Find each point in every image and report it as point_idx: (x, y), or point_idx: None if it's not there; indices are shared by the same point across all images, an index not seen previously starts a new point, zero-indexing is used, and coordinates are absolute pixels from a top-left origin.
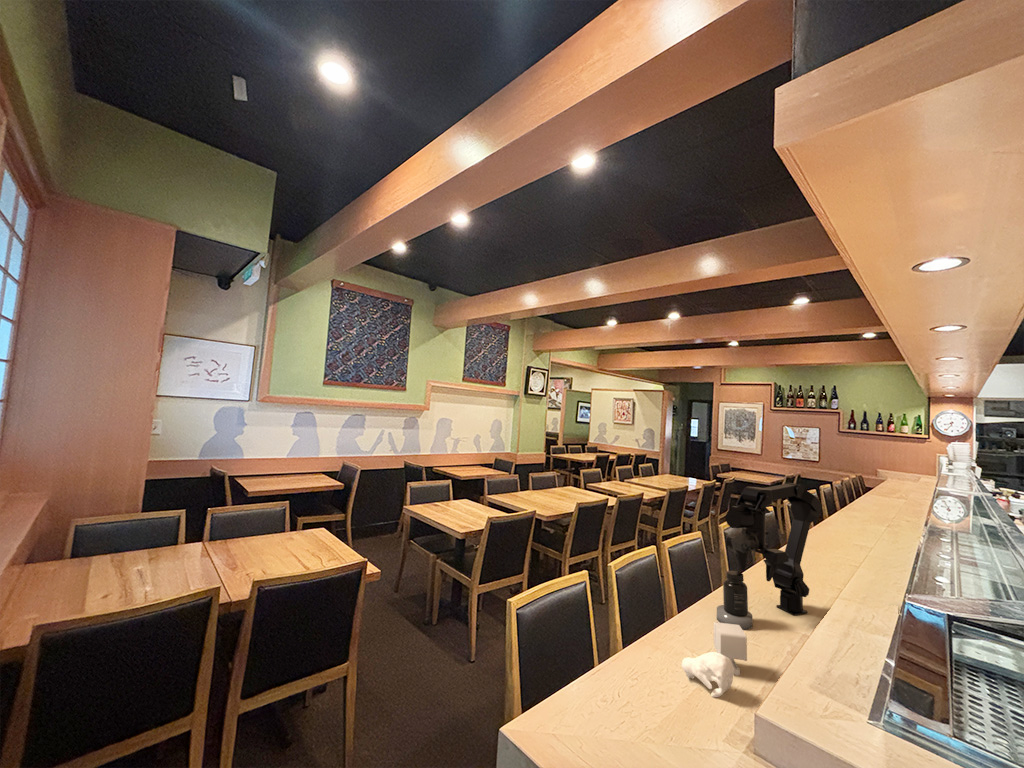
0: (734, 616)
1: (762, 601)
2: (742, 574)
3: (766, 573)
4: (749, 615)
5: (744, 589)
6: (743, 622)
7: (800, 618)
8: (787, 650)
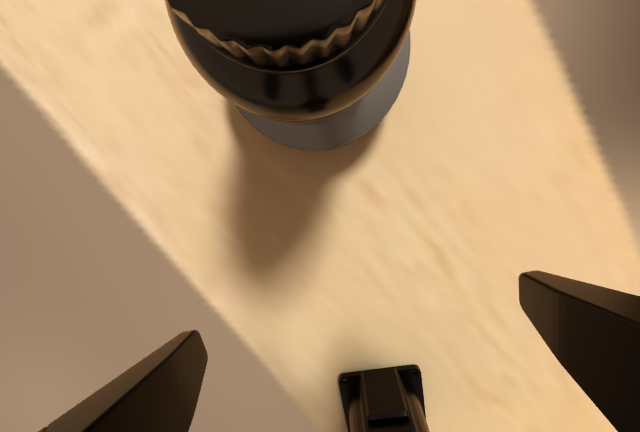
0: None
1: (479, 349)
2: (193, 11)
3: (126, 387)
4: (265, 118)
5: (170, 20)
6: None
7: (316, 379)
8: (66, 131)
